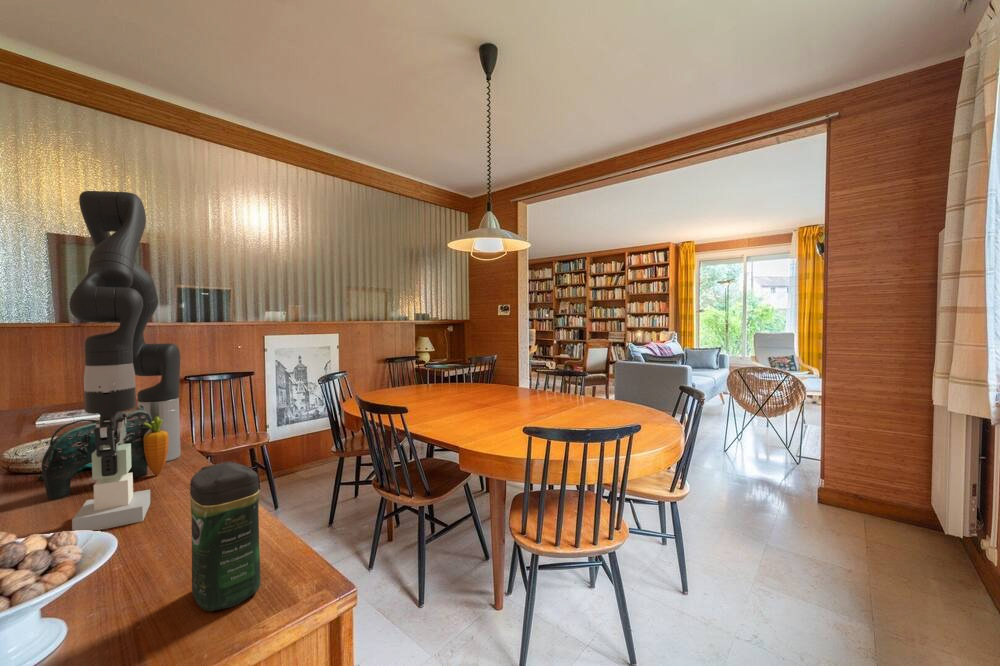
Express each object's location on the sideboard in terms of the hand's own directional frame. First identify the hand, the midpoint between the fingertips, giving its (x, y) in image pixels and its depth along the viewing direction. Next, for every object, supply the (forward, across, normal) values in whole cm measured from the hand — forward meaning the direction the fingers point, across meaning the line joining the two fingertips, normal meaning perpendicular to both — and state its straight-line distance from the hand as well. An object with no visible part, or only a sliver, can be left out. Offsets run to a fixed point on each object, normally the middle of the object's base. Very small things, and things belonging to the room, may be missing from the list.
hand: (112, 470), depth 84 cm
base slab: (+10, 0, 0) cm, 10 cm away
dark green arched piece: (+10, -24, -6) cm, 27 cm away
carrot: (+10, -25, +4) cm, 27 cm away
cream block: (+7, 0, 0) cm, 7 cm away
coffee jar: (+10, +40, +19) cm, 45 cm away
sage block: (0, 0, 0) cm, 0 cm away
